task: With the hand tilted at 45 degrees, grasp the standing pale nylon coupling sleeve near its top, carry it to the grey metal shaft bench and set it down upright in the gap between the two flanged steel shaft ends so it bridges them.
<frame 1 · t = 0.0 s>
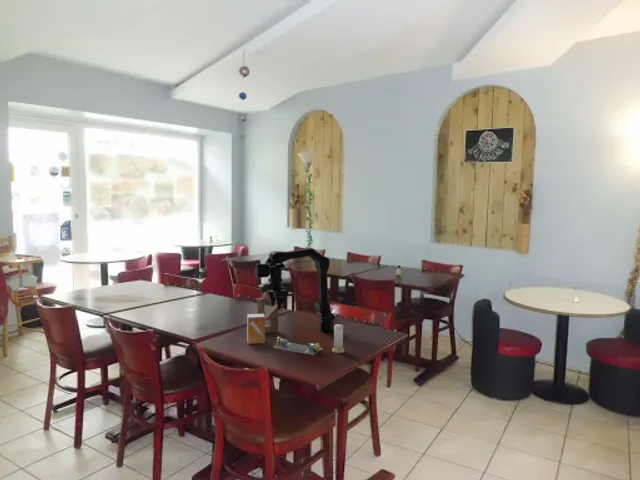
hand: (275, 307, 234), 15 cm above the table, tool pointing down, fingers open, 9 cm apart
wooden block: (267, 332, 242), on the table
shaft bench: (297, 348, 217), on the table
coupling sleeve: (338, 351, 215), on the table
small box: (255, 342, 226), on the table
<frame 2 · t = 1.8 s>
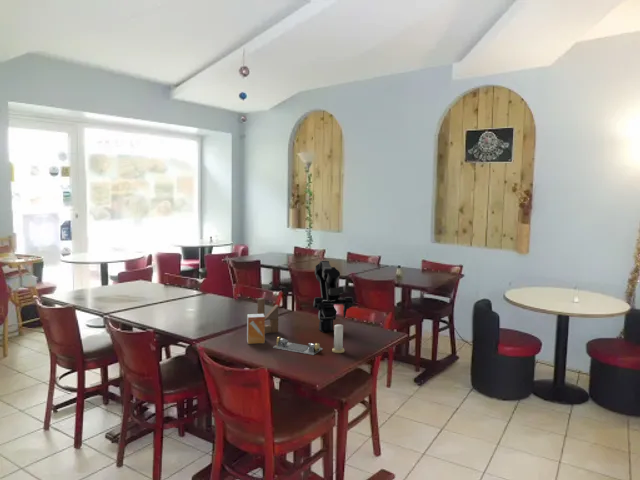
hand: (335, 317, 221), 13 cm above the table, tool tilted 45°, fingers open, 9 cm apart
nothing on the table moved.
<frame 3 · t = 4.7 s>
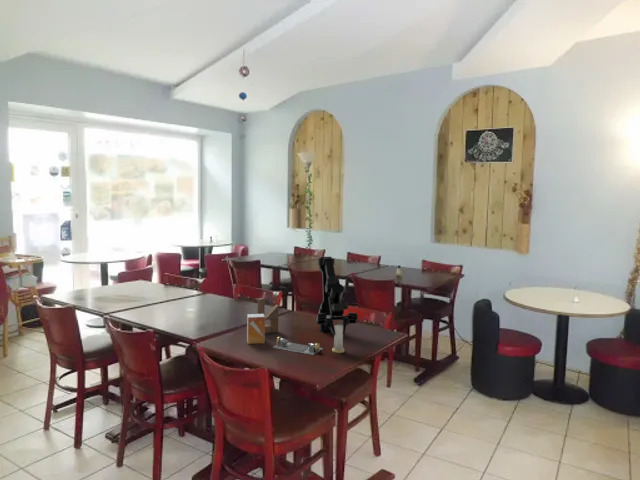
hand: (339, 334, 212), 8 cm above the table, tool tilted 45°, fingers closed on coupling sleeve, 4 cm apart
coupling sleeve: (338, 351, 215), on the table, touching gripper
everything else where it was.
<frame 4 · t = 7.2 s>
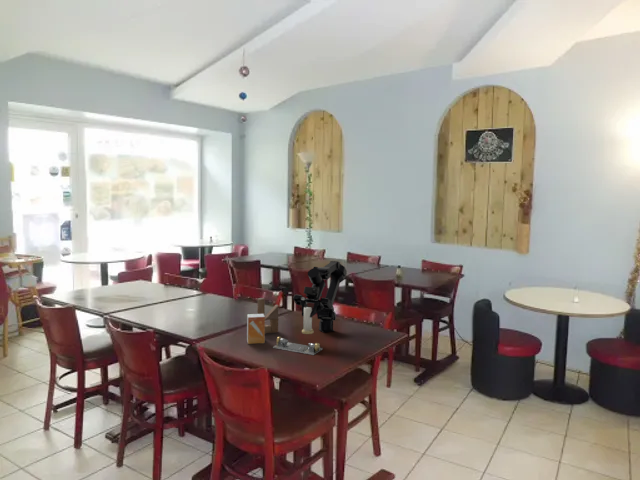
hand: (306, 316, 223), 13 cm above the table, tool tilted 45°, fingers closed on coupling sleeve, 4 cm apart
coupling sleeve: (307, 332, 225), point 5 cm above the table, touching gripper
everything else where it was.
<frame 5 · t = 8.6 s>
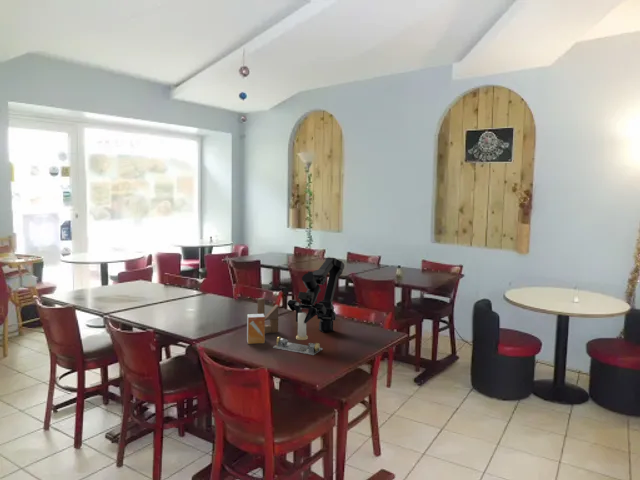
hand: (300, 322, 218), 12 cm above the table, tool tilted 45°, fingers closed on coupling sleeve, 4 cm apart
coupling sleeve: (301, 338, 220), point 4 cm above the table, touching gripper
everything else where it was.
when the fingers open (10 cm above the table, at t = 9.9 s): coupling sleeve drops 1 cm, resting on shaft bench.
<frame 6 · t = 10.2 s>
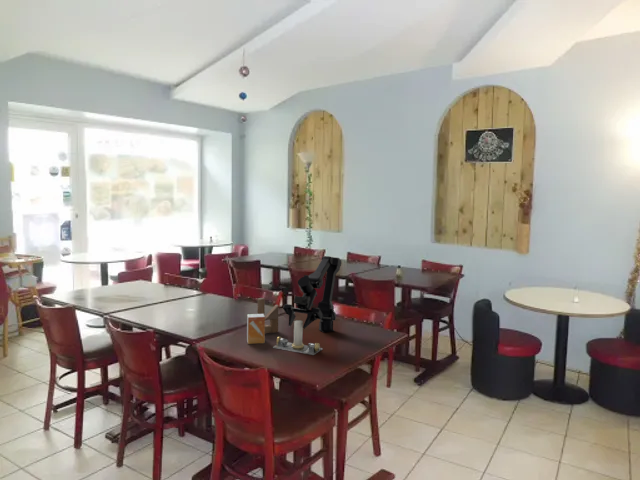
hand: (296, 327, 215), 11 cm above the table, tool tilted 45°, fingers open, 7 cm apart
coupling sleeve: (297, 346, 217), point 1 cm above the table, touching shaft bench
everything else where it was.
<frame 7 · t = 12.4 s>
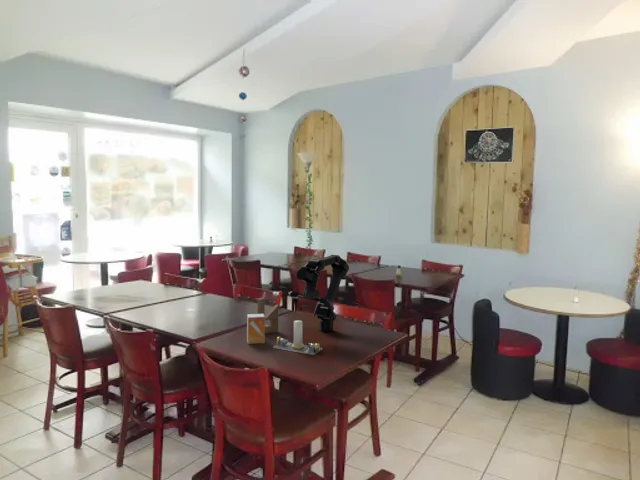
hand: (304, 315, 230), 12 cm above the table, tool tilted 20°, fingers open, 9 cm apart
nothing on the table moved.
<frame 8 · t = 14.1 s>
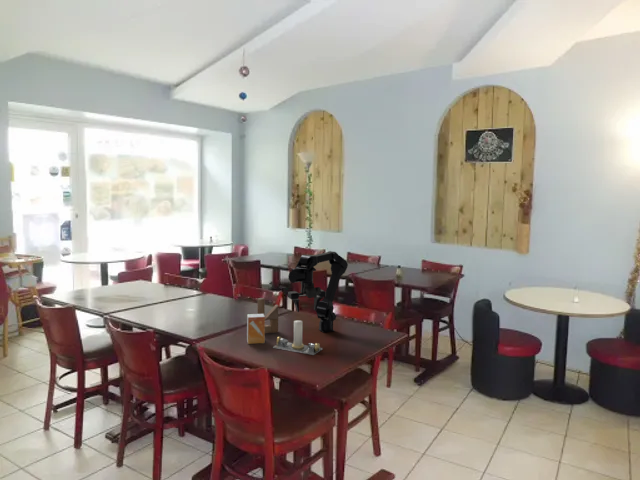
hand: (306, 311, 235), 13 cm above the table, tool pointing down, fingers open, 9 cm apart
nothing on the table moved.
at the end: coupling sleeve inside the target area on the shaft bench (0.1 cm from its centre), point 0.8 cm above the shaft bench's base; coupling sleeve tilted 0°; the gripper is holding nothing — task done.
